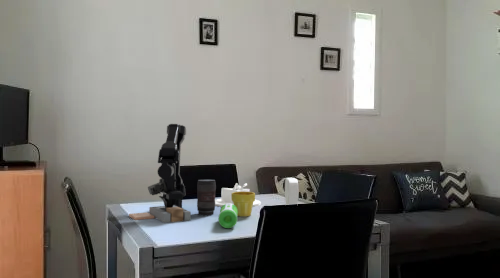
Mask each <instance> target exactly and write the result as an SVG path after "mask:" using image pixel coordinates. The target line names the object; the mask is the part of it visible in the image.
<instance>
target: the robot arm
mask: <svg viewBox="0 0 500 278" xmlns="http://www.w3.org/2000/svg"><path fill="white" fill-rule="evenodd" d="M186 128H187V127H186V126H185V125H183V124H182V125H181V124H179V123H170V124H168V125H167V126H166V135H167V136H166V141H165V142H164V143H162V145H161V147H160V149H159V151H158V158H157V163H158V164H161V165H160V166H159V167H158V169H157V175H158V176H159V179H158V180H159V181H158V182H157V183H154V184H151V185H149V186H147V189H148V192H149V195H152V196H155V195H156V196H157V195H158V194H159V195H160V196H158V197H159V198H160V199H161V200H162V201H163V206H165V209H166V208H167V207H173V205H175V206H177V207H180V208H182V209H184V207H183V199H184V197H185V196H186V188H185V187H186V186H185V185H184V183H183V179H182V177H181V174H180V172H181V171H180V170H181V168H180V167H181V150H182V149H181V147H182V143H183V142H184V141H185V137H186V135H187V129H186Z"/></svg>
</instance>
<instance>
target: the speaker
mask: <svg viewBox="0 0 500 278" xmlns="http://www.w3.org/2000/svg"><path fill="white" fill-rule="evenodd" d="M237 215H238V210H237V207H236V206H235V205H234V204H231V203H227V204H225V205H223V206H222V207H220V210H219V215H218V223H219V225H220V226H221V227H222V228H225V229H231V228H234V226H236V225H237V223H238V216H237Z"/></svg>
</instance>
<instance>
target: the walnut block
mask: <svg viewBox="0 0 500 278" xmlns="http://www.w3.org/2000/svg"><path fill="white" fill-rule="evenodd" d="M182 208H183V207H182ZM182 208H180V207H167V208H166V212H168V213H171V215H170V222H169V223H177V222H183V221H184V220H183V209H184V208H183V209H182Z"/></svg>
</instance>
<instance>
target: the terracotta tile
mask: <svg viewBox="0 0 500 278" xmlns="http://www.w3.org/2000/svg"><path fill="white" fill-rule="evenodd" d="M128 217H130V218H131V219H133V220H135V221H137V220H139V221H140V220H152V219H155V218H154V215H152V214H150V213H149V211H148V212H147V211H146V212H135V213H129V214H128Z"/></svg>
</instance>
